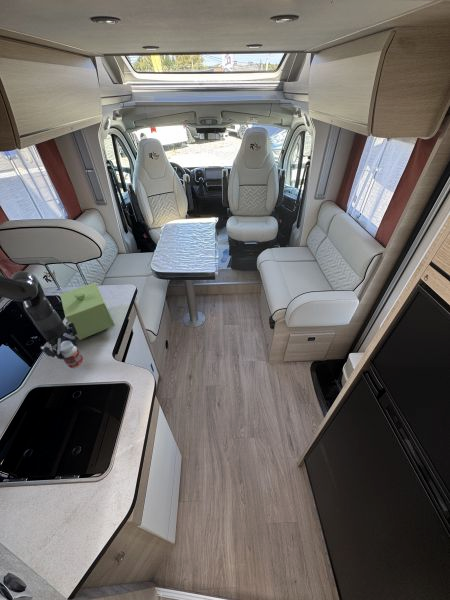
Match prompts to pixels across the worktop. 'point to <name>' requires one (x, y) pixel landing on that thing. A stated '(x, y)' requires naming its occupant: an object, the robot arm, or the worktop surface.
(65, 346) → the pill bottle
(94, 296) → the container
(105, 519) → the worktop surface
